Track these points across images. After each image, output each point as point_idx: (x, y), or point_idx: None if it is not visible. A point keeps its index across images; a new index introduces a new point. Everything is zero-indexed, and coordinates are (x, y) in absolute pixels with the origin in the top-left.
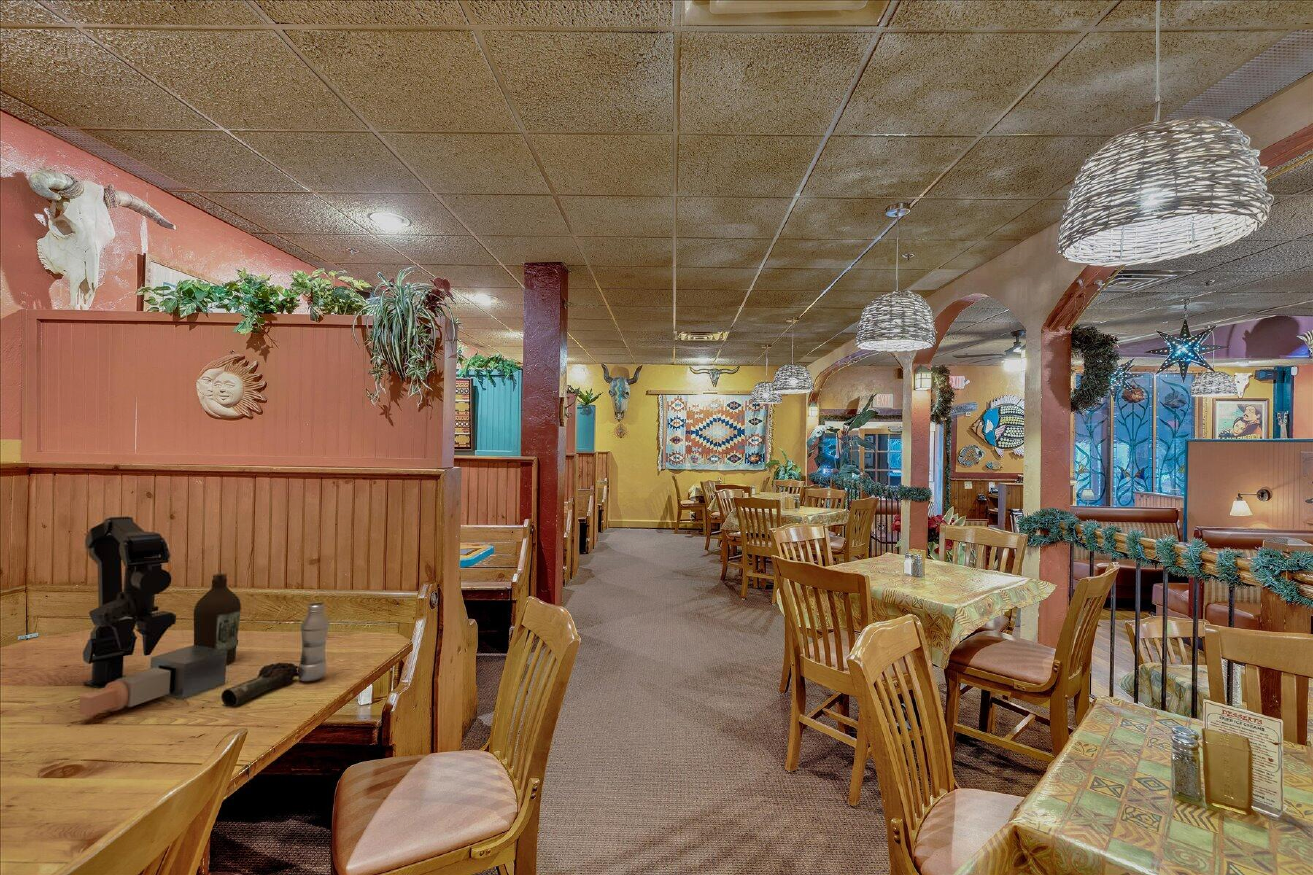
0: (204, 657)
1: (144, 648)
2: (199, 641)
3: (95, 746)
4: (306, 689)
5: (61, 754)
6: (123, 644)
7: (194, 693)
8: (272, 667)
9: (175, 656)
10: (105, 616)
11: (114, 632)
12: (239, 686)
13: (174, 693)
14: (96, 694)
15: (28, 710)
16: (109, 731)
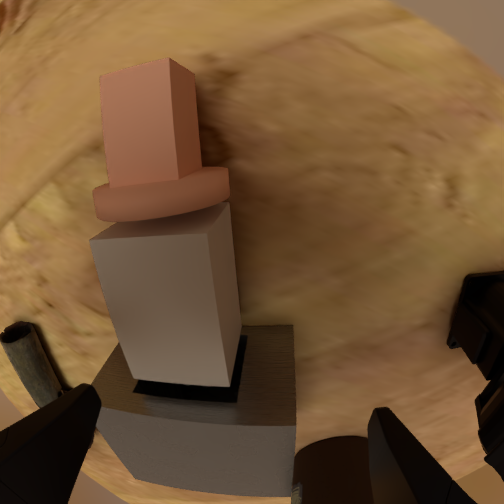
0: (111, 445)
1: (48, 409)
2: (341, 499)
3: (19, 75)
4: None
5: (41, 20)
6: (377, 442)
7: None
8: None
9: (207, 447)
10: None
11: (469, 502)
12: (11, 360)
13: None
14: (119, 107)
15: (476, 89)
16: (61, 116)
